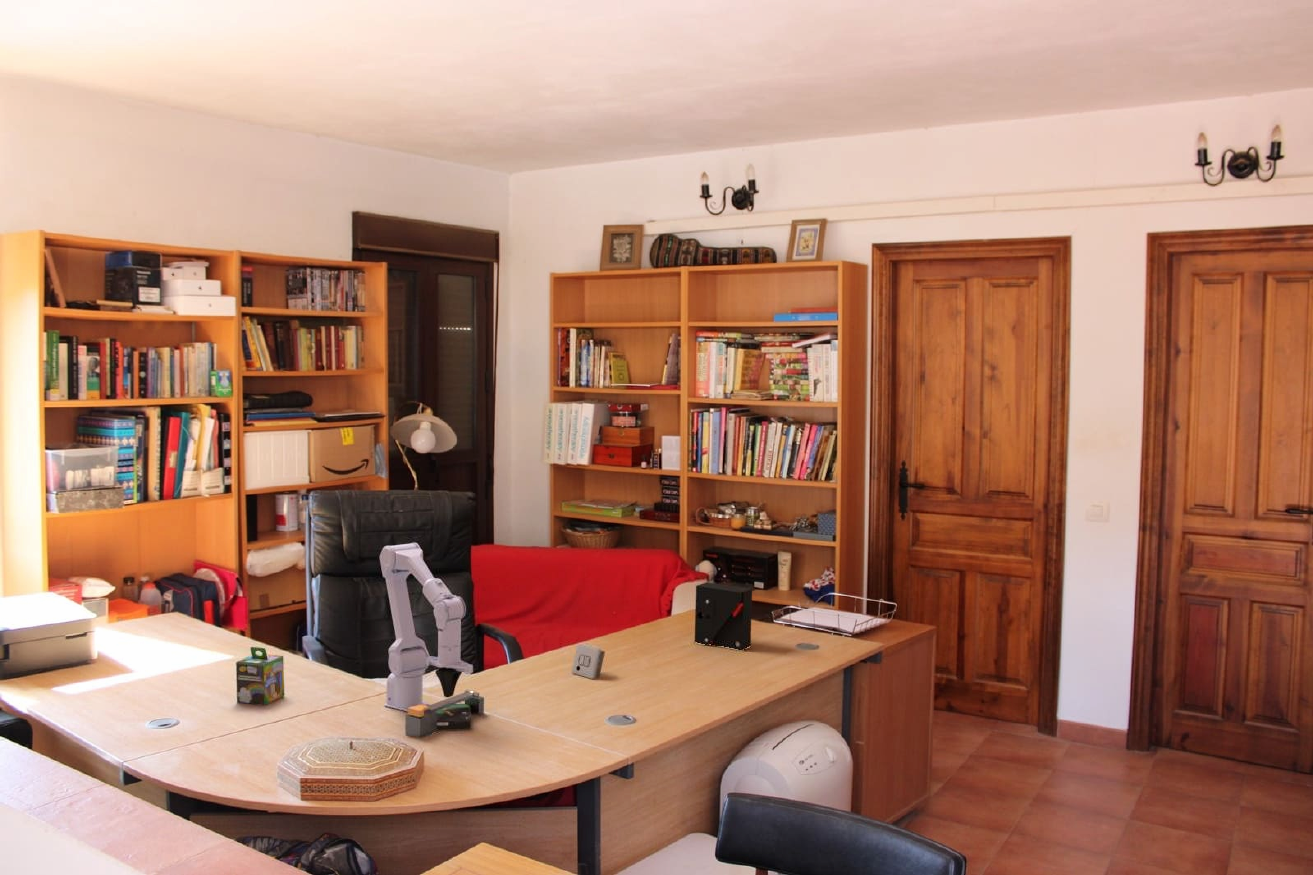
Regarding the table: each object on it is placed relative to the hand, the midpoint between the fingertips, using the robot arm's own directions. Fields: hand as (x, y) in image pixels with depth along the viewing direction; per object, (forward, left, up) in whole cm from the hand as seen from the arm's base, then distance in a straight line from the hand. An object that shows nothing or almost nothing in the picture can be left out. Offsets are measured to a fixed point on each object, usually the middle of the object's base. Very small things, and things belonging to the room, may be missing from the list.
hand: (448, 696), depth 278 cm
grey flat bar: (0, +1, -2) cm, 2 cm away
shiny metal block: (0, -1, -7) cm, 7 cm away
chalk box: (-55, -15, -7) cm, 57 cm away
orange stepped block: (0, -11, -2) cm, 11 cm away
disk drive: (0, +1, -7) cm, 7 cm away
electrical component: (+21, +113, -7) cm, 115 cm away
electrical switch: (+4, +57, -7) cm, 58 cm away
